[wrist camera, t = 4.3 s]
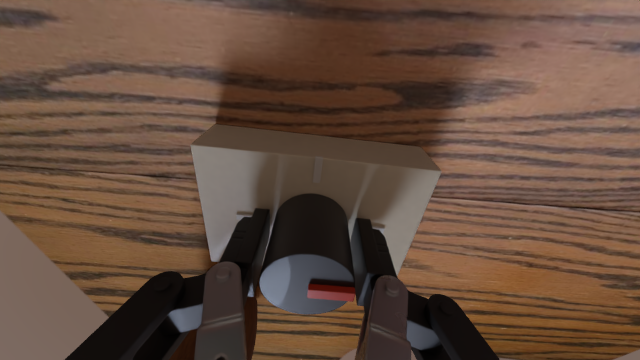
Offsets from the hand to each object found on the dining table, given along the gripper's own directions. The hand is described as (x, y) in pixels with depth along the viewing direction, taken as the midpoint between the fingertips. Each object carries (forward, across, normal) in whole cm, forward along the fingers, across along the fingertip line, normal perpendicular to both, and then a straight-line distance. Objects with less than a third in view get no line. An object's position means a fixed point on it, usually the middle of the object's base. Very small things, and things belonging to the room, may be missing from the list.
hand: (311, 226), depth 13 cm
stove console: (+3, 0, 0) cm, 3 cm away
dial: (0, 0, 0) cm, 0 cm away
